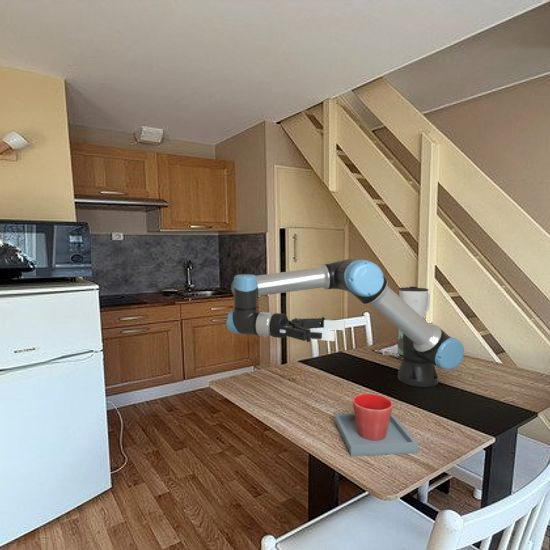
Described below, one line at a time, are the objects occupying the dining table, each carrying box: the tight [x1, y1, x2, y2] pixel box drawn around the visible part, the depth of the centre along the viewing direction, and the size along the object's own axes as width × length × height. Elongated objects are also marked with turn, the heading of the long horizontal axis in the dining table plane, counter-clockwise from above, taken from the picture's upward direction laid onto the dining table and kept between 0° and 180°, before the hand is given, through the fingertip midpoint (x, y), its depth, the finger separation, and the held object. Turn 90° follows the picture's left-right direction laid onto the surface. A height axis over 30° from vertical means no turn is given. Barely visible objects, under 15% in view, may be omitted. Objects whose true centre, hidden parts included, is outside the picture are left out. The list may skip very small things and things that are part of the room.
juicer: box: [397, 286, 431, 358], centre depth 171 cm, size 19×13×35 cm
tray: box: [334, 412, 419, 457], centre depth 100 cm, size 18×18×2 cm
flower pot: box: [352, 393, 394, 441], centre depth 100 cm, size 11×11×10 cm
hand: (340, 330), depth 102 cm, fingers open, 13 cm apart
